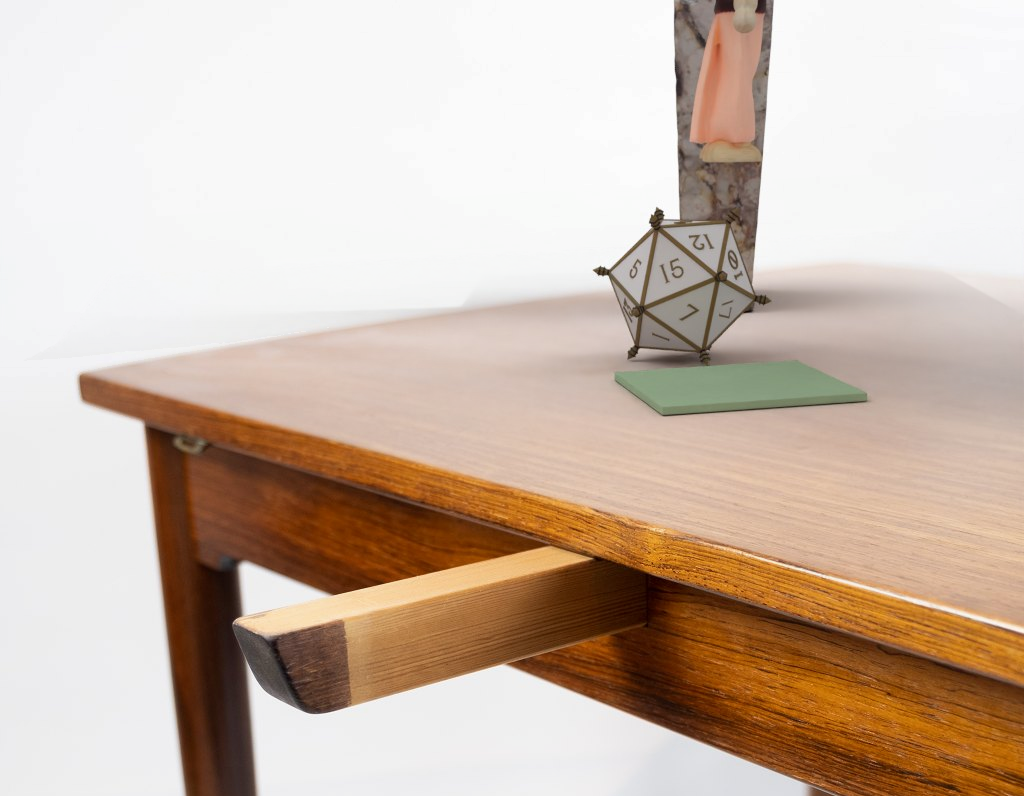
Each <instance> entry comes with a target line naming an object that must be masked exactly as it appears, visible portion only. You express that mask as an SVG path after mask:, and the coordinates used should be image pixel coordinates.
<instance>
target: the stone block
mask: <svg viewBox="0 0 1024 796" xmlns="http://www.w3.org/2000/svg"><path fill="white" fill-rule="evenodd" d="M774 2H775V0H766V13H765V15H764V19H763V32H762V43H761V52H760V58H759V63H758V67H757V70H756V73H755V75H754V77H753V80H752V94H753V101H754V112H755V139H754V141H751V145H753V146H755V147H756V148H757V149H758V150H759V151H760V153H761V156H762V161H759V162H704V161H702V159H700V158H699V157H700V153H701V150H702V148H703V147H704V146H705V145H706V144H707V143H702V144H700V143H695V142H690V132H691V123H692V114H693V107H694V101H695V95H696V89H697V84H698V80H699V75H700V70H701V66H702V61H703V56H704V51H705V47H706V43H707V39H708V36H709V32H710V29H711V25H712V22H713V19H714V16H715V13H714V7H715V3H716V0H673V45H674V62H673V63H674V75H675V112H676V113H675V114H676V130H677V166H678V167H677V168H678V169H677V171H678V173H677V174H678V207H679V209H678V210H679V220H726V219H727V217H728V215H729V213H730V210H731V211H732V210H735V209H737V208H739V211H738V218H736V219H735V221H733V222H732V223H731V227H732V230H733V233H734V236H735V238H736V241H737V244H738V247H739V250H740V252H741V255H742V258H743V261H744V264H745V266H746V269H747V272H748V275H749V278H750V280H751V283H752V284H753V281H754V266H755V255H756V254H755V253H756V243H757V232H758V222H759V209H760V208H759V206H760V194H761V183H762V171H763V161H764V147H765V133H766V132H765V131H766V121H767V109H768V108H767V107H768V91H769V88H768V87H769V75H770V62H771V51H772V38H773V37H772V35H773V19H774V6H775V5H774V4H775V3H774ZM755 304H756V302H754V303H753V304H752V305H751V306H750V307H749V308H748V309H747V310H746V311H745V312H748V311H750V312H751V311H754V310H755ZM753 309H754V310H753Z"/></svg>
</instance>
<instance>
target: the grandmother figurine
mask: <svg viewBox="0 0 1024 796" xmlns="http://www.w3.org/2000/svg"><path fill="white" fill-rule="evenodd" d="M714 13H715V16H714V19H713V22H712V25H711V29H710V32H709V36H708V39H707V43H706V47H705V51H704V56H703V61H702V66H701V70H700V75H699V80H698V84H697V89H696V95H695V101H694V107H693V114H692V123H691V132H690V142H695V143H700V144H702V143H707V144H706V145H705V146H704V147H703V148H702V150H701V153H700V157H699V158H700V159H702V161H704V162H759V161H762V156H761V153H760V151H759V150H758V149H757V148H756V147H755V146H753V145H751V141H754V139H755V112H754V101H753V94H752V80H753V77H754V75H755V73H756V70H757V67H758V63H759V58H760V52H761V43H762V32H763V19H764V15H765V13H766V0H716V3H715V7H714ZM762 162H763V161H762Z"/></svg>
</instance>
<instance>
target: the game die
mask: <svg viewBox="0 0 1024 796" xmlns="http://www.w3.org/2000/svg"><path fill="white" fill-rule="evenodd" d="M738 211H739V208H737V209H735V210H732V211H731V210H730V213H729V215H728V217H727V219H726V220H680V218H679V219H676V218H675V219H674V218H665V214H664V210H663V209H662V208H661V209H660V208H659V207H657V206H656V207H655V211H654V212H653V214H652V213H651V214H650V218H649V221H648V224H650V228H649V229H648V231H647V232H646V233H644V235H643V236H641V238H640V239H638V240H637V242H635V243H634V244H633V246H631V247H630V249H629V250H627V251H626V253H624V255H622V257H620V259H618V260H617V262H615V263H614V264H613V265H612V266H611V267H610V268H607V267H606V266H602V265H599V266H598V267H595V268H593V269H592V271H593V272H594V273H595V274H596V275H597V276H598V277H601V276H602V277H603V278H604V277H605V276H608V279H609V281H610V284H611V286H612V289H613V292H614V294H615V298H616V300H617V302H618V304H619V307H620V310H621V312H622V315H623V318H624V321H625V324H626V326H627V328H628V331H629V334H630V336H631V338H632V341H633V344H634V345H633V346H632V347H630V349H629V350H627V358H626V360H627V361H628V360H630V359H634V358H636V357H637V355H639V350H640V349H645V350H655V351H656V350H658V351H669V352H670V351H671V352H672V351H673V352H683V353H684V352H685V353H697V354H699V359H700V363H703V364H704V366H709V364H710V363H709V362H710V361H711V356H710V353H708V351H711V349H712V347H713V345H714V344H715V342H716V341H718V339H719V338H720V337H722V336H723V334H724V333H726V331H727V330H729V328H730V327H731V326H732V325H733V324H734V323H735V322H736V321H737V320H738V319H739V318H740V317H742V315H743V314H745V312H747V311H746V310H747V309H748V308H749V307H750V306H751V305H752V304H753V303H757V304H758V305H763V306H765V305H767V304H769V303H771V302H772V300H771V298H769V297H768V296H767V294H765V295H763V294H759V295H757V294H756V292H755V289H754V286H753V282H752V283H751V280H750V278H749V275H748V272H747V269H746V266H745V264H744V261H743V258H742V255H741V252H740V250H739V247H738V244H737V241H736V238H735V236H734V233H733V230H732V227H731V223H732V222H733V221H735V219H736V218H738Z"/></svg>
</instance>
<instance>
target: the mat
mask: <svg viewBox="0 0 1024 796" xmlns="http://www.w3.org/2000/svg"><path fill="white" fill-rule="evenodd" d="M613 376H614V377H613V378H614V381H616V382H617V383H618V384H620V385H621V386H622V387H624V388H625V389H627V390H628V391H629V392H630V393H632V394H633V395H634V396H636V397H638V398H639V399H640V400H642V402H643V403H645V404H647V405H648V406H649V407H651V408H652V409H654V410H655V411H656V412H657V413H659V414H661V415H662V416H671V415H672V416H673V415H685V414H701V413H713V412H727V411H743V410H756V409H757V410H758V409H771V408H781V407H782V408H786V407H787V408H788V407H799V406H801V407H802V406H812V405H814V406H815V405H827V404H828V405H829V404H841V403H842V404H843V403H855V402H867V401H868V394H869V393H868V392H867V391H865V390H862V389H860V388H858V387H856V386H853V385H852V384H849V383H847V382H845V381H843V380H840V379H839V378H837V377H834V376H832V375H830V374H827V373H825V372H823V371H821V370H820V369H817V368H815V367H812V366H811V365H808V364H806V363H804V362H803V361H799V360H797V359H794V360H779V361H778V360H777V361H764V362H763V361H762V362H748V363H747V362H746V363H732V364H719V365H708V366H707V365H704V366H703V365H702V366H689V367H688V366H685V367H674V368H657V369H656V368H655V369H644V370H628V371H627V370H626V371H614V373H613Z"/></svg>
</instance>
